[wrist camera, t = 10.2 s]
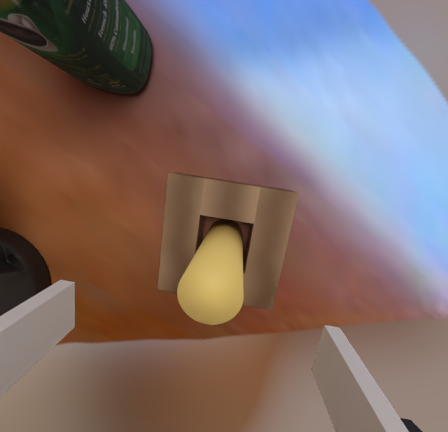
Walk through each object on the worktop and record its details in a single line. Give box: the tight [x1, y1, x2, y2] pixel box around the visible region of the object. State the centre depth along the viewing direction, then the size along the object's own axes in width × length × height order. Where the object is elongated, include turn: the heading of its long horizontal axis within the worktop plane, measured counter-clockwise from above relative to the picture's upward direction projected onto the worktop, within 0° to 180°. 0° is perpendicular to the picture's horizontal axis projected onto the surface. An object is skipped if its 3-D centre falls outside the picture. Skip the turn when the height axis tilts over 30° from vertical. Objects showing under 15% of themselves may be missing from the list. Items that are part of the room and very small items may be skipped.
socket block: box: [158, 173, 299, 310], centre depth 25 cm, size 14×14×4 cm
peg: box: [177, 219, 244, 325], centre depth 20 cm, size 4×4×14 cm
